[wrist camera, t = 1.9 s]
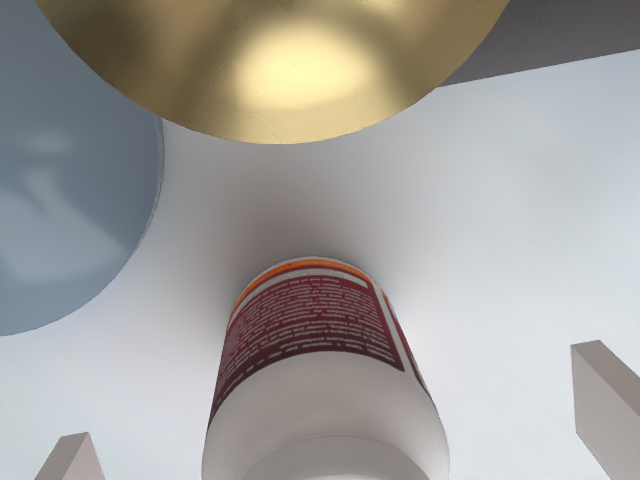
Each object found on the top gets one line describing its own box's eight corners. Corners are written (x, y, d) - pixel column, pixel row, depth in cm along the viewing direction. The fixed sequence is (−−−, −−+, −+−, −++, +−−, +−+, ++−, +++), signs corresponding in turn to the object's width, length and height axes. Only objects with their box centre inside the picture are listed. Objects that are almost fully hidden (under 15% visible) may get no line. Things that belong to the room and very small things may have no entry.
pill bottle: (193, 338, 22) (110, 589, 12) (304, 216, 21) (323, 372, 11) (318, 431, 24) (344, 730, 13) (428, 322, 23) (553, 552, 12)
